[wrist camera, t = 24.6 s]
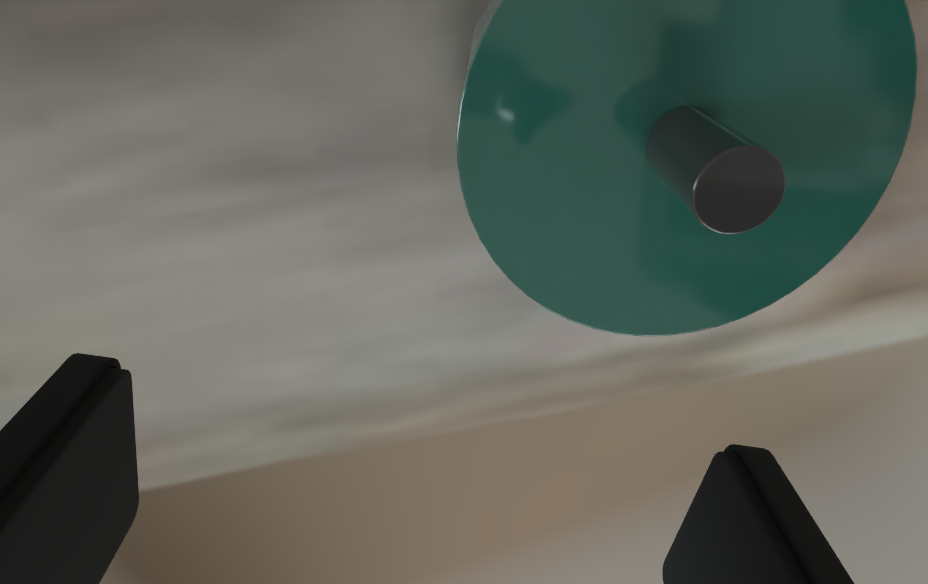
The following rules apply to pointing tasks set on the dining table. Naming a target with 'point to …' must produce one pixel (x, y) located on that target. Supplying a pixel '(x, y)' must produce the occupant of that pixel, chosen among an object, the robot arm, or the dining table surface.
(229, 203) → the dining table surface
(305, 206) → the dining table surface
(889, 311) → the dining table surface
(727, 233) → the pot lid
